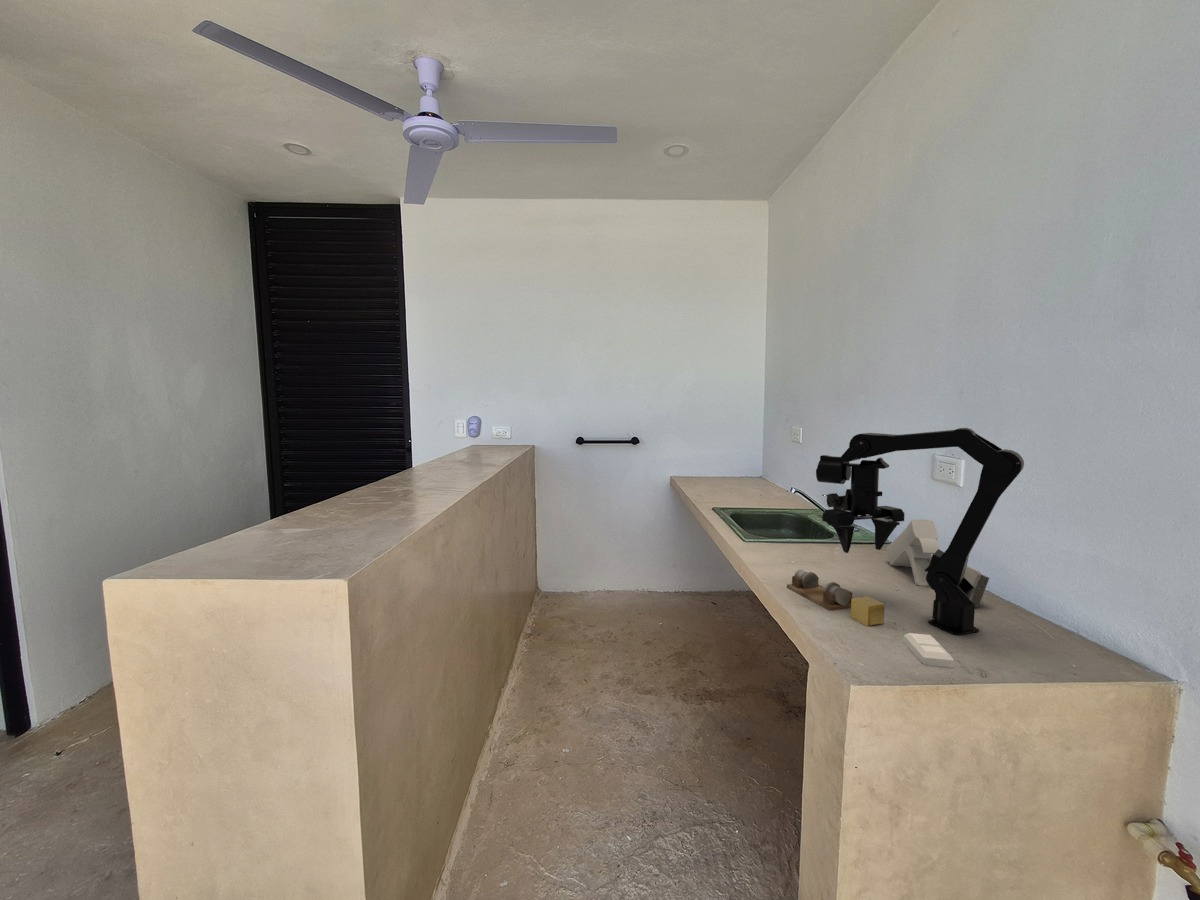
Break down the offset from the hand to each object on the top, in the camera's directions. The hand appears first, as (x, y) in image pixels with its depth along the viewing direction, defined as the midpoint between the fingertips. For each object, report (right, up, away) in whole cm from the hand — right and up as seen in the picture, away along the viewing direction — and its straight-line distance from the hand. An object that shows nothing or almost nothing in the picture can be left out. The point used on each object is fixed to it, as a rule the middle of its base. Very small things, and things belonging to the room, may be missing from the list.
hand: (862, 551), depth 115 cm
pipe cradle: (-8, -12, +5) cm, 15 cm away
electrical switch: (+25, -13, +3) cm, 29 cm away
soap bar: (0, -15, -23) cm, 28 cm away
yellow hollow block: (-4, -14, -9) cm, 16 cm away
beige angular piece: (+26, -11, +21) cm, 35 cm away
